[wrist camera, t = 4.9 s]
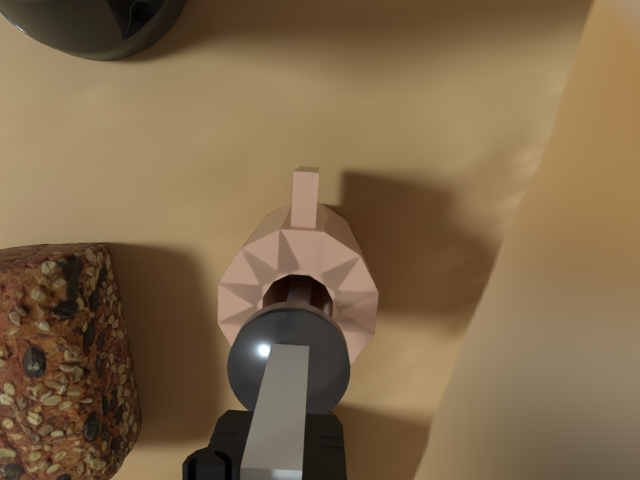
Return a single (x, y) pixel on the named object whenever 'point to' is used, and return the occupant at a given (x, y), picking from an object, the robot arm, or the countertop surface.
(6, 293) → the bread
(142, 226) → the countertop surface
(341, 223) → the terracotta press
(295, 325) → the glossy charcoal round knob
